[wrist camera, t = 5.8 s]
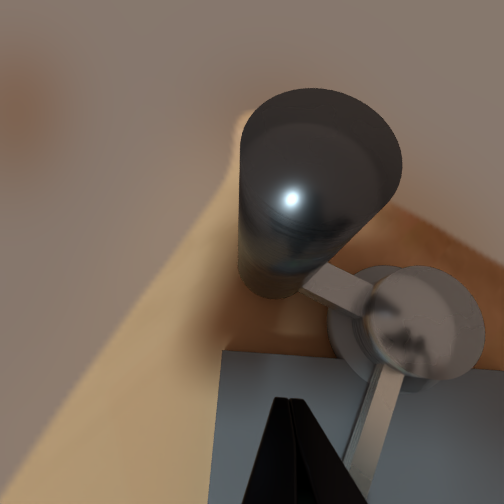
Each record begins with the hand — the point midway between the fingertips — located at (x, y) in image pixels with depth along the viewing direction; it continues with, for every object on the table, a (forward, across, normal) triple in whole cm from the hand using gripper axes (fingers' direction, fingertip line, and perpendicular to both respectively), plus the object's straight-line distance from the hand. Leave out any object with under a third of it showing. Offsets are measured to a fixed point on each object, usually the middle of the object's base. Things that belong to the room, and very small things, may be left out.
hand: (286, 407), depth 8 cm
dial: (+4, -2, +3) cm, 5 cm away
